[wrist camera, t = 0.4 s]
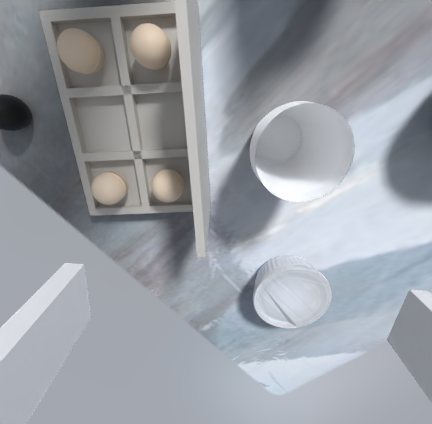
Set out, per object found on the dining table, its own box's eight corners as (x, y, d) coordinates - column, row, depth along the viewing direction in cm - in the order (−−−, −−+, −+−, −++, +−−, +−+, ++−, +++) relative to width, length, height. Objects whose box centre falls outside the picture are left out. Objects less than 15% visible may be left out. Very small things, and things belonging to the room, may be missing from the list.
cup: (261, 185, 36) (278, 219, 25) (230, 126, 34) (235, 136, 22) (322, 153, 35) (370, 174, 23) (295, 88, 32) (335, 77, 21)
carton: (51, 17, 29) (-83, -54, 16) (198, 7, 29) (180, -74, 16) (97, 209, 38) (33, 262, 25) (210, 205, 38) (205, 257, 25)
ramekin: (239, 293, 44) (241, 316, 39) (267, 238, 40) (274, 257, 35) (298, 312, 45) (308, 338, 40) (332, 261, 41) (347, 282, 36)
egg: (42, 121, 34) (14, 124, 29) (17, 134, 34) (-15, 138, 30) (22, 89, 32) (-11, 87, 28) (-4, 103, 33) (-40, 102, 28)
